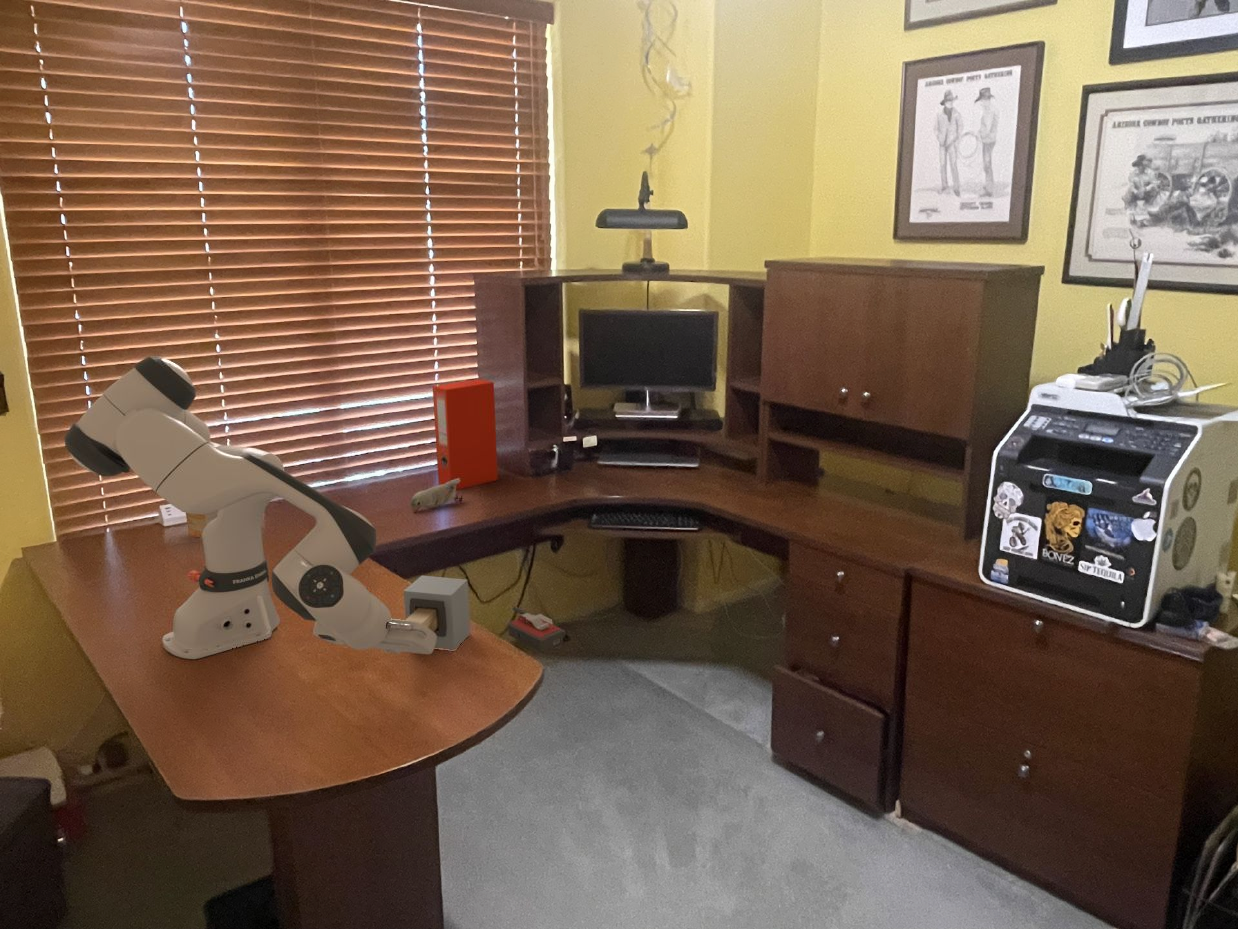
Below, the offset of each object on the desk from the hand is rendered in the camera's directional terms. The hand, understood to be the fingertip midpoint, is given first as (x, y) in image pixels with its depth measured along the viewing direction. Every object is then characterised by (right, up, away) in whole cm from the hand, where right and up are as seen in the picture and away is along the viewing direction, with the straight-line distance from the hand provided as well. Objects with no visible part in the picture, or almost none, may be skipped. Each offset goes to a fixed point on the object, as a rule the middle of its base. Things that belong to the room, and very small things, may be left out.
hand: (394, 648), depth 165 cm
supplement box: (-71, +14, +81) cm, 108 cm away
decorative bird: (-13, +21, +102) cm, 105 cm away
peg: (+3, +1, +12) cm, 12 cm away
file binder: (-7, +27, +126) cm, 129 cm away
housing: (+4, -2, +19) cm, 19 cm away
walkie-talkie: (+23, -2, +22) cm, 32 cm away
